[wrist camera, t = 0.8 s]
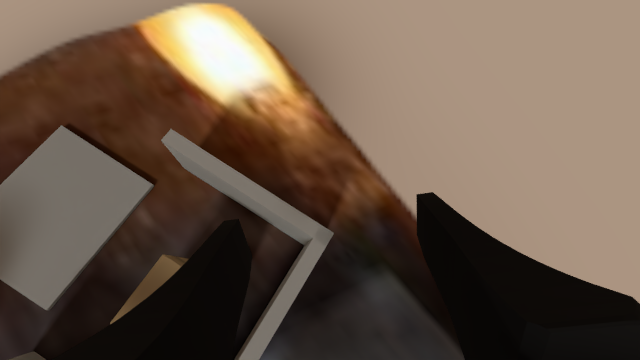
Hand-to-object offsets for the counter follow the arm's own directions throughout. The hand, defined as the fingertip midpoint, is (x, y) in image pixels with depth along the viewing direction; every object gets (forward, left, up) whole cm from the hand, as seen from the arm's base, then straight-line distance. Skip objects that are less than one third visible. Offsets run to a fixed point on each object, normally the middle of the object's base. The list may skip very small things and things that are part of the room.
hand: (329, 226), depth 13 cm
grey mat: (-7, +17, -14) cm, 24 cm away
